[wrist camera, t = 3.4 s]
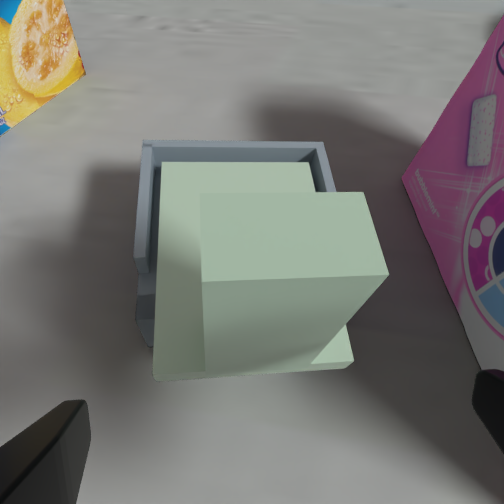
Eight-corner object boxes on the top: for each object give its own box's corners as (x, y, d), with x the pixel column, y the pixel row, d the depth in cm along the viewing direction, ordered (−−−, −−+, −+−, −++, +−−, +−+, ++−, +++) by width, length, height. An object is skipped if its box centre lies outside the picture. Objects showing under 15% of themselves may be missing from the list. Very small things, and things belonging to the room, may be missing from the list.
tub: (329, 336, 21) (363, 295, 16) (148, 347, 20) (129, 306, 15) (302, 202, 26) (323, 141, 21) (155, 203, 25) (142, 139, 20)
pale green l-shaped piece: (345, 371, 16) (474, 271, 8) (156, 385, 15) (98, 285, 7) (304, 177, 22) (357, 8, 14) (164, 177, 21) (136, -5, 13)
